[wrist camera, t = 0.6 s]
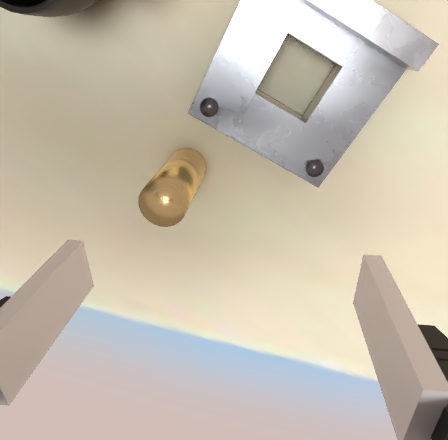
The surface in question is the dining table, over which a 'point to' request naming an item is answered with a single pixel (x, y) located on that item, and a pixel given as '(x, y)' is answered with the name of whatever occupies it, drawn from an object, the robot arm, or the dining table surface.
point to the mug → (46, 6)
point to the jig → (330, 90)
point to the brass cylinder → (172, 188)
